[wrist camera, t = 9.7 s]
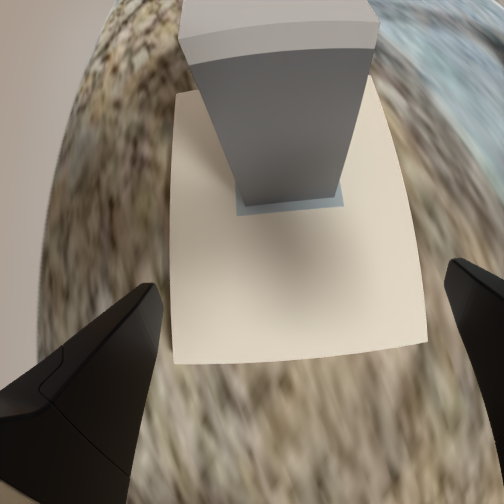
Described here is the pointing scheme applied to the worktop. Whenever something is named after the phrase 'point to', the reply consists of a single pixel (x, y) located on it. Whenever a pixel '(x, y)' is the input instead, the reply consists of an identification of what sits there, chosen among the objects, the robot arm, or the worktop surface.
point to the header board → (290, 254)
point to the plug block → (281, 88)
